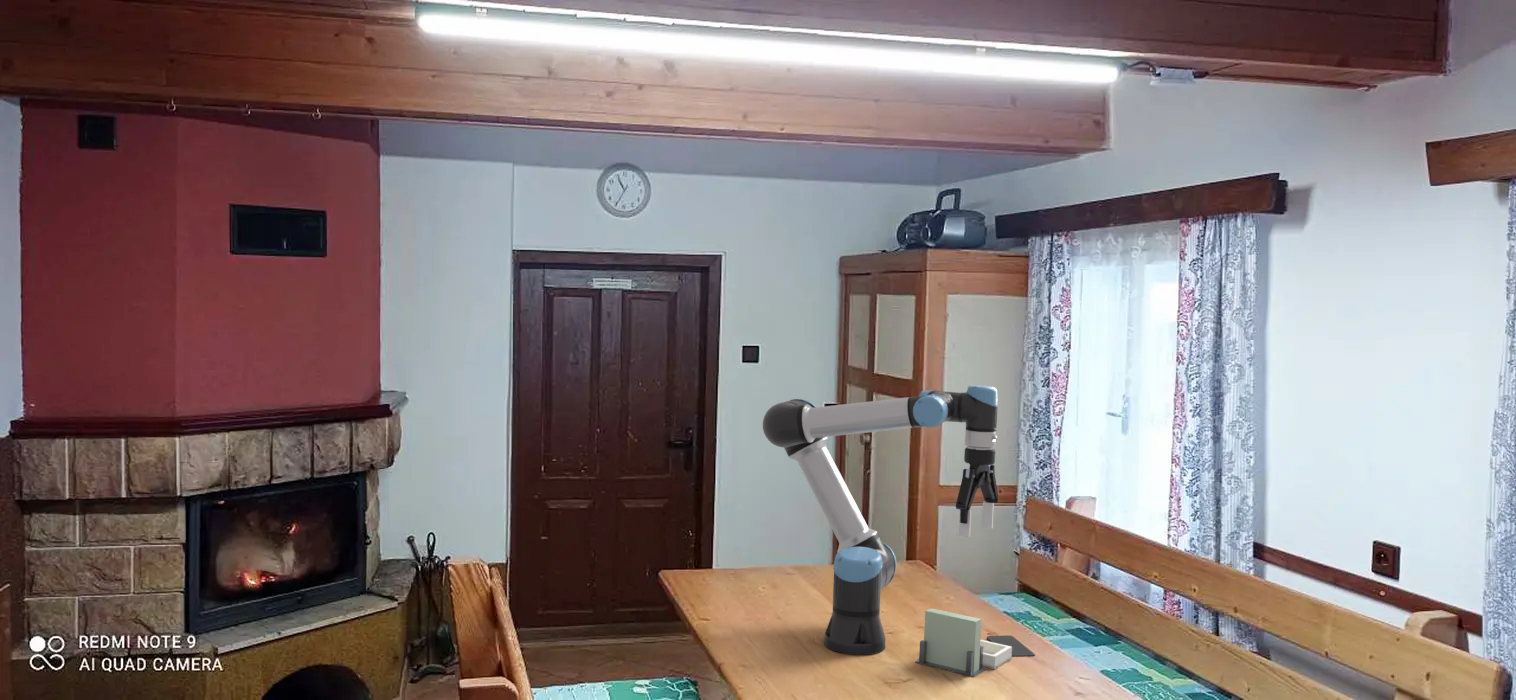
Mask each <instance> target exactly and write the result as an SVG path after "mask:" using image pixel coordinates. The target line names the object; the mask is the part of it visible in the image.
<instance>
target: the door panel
mask: <svg viewBox="0 0 1516 700" xmlns="http://www.w3.org/2000/svg"><path fill="white" fill-rule="evenodd" d="M924 613H925V614H924V630H923V631H924V632H923V633H924V634H923V635H924V636H923V640H924V641H927V648H926V661H927V662H931V663H935V664H939V665H943V666H947V667H951V668H955V669H959V670H963V671H966V658H967V652H968V651H972V652H974V658H973V673H975V672H976V671H978V670H979V661H980V640H982V639H981V638H982V636H981V635H982V618H978V617H975V616H969V615H964V614H960V613H956V612H950V611H945V610H942V609H937V608H928V609H927V610H925V611H924Z"/></svg>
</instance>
